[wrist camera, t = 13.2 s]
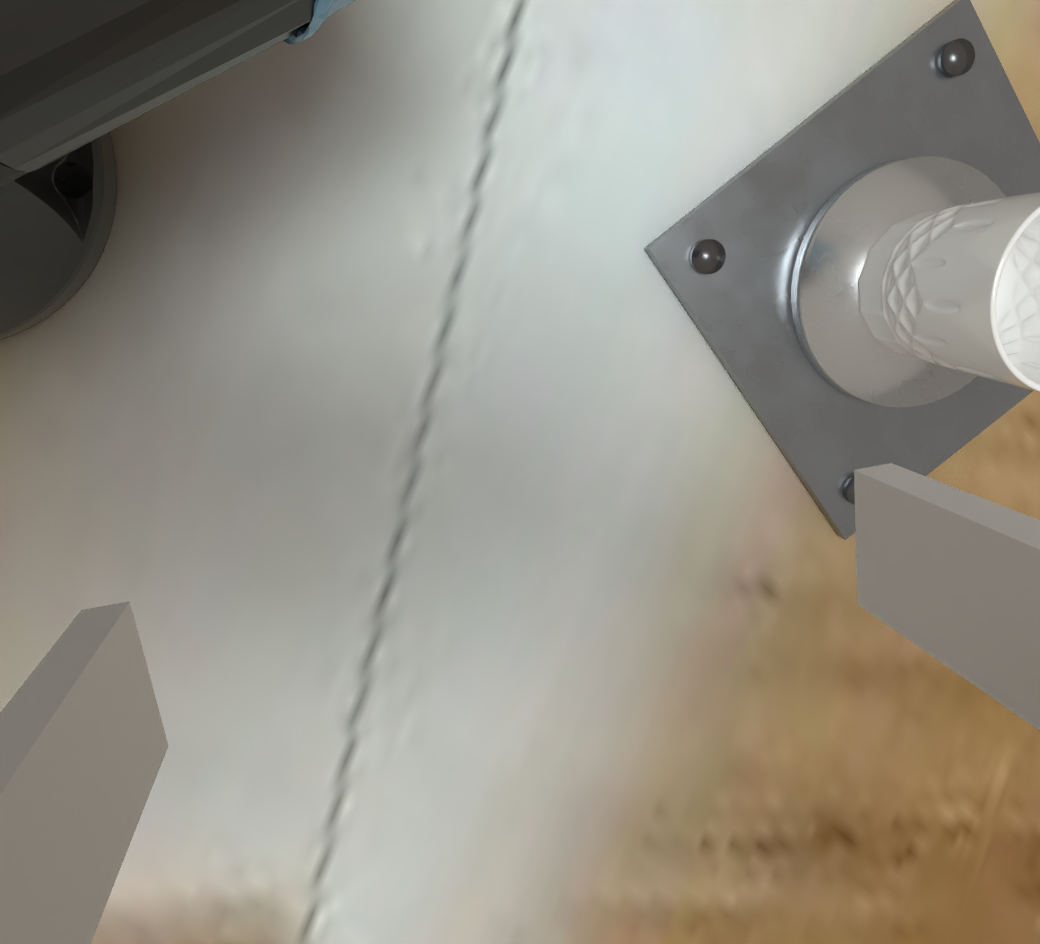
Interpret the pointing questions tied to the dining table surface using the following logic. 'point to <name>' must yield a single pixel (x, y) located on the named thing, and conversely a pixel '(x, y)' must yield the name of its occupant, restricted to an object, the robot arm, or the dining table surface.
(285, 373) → the dining table surface
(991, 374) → the white cup
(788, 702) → the dining table surface
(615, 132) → the dining table surface
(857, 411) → the panel
